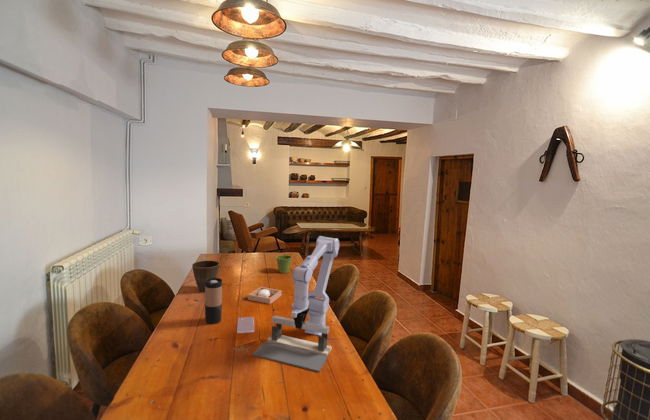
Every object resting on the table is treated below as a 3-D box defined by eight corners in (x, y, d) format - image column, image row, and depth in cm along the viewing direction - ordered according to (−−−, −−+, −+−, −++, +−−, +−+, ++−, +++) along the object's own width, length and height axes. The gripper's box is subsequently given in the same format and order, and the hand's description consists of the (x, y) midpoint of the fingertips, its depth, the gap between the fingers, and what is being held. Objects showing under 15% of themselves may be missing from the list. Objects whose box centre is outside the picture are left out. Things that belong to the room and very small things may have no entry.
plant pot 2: (283, 268, 243) (283, 253, 242) (295, 272, 236) (295, 257, 235) (271, 272, 233) (272, 256, 232) (283, 275, 226) (284, 260, 225)
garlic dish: (260, 291, 195) (260, 286, 194) (281, 295, 190) (281, 290, 190) (247, 299, 181) (247, 294, 181) (270, 304, 177) (270, 298, 177)
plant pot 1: (197, 296, 182) (197, 269, 180) (188, 288, 193) (188, 262, 191) (222, 291, 192) (223, 265, 190) (212, 284, 203) (213, 259, 201)
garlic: (260, 293, 193) (260, 287, 192) (271, 294, 192) (271, 288, 191) (256, 298, 185) (256, 292, 184) (267, 299, 184) (268, 293, 183)
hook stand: (273, 335, 143) (274, 320, 143) (331, 348, 135) (332, 333, 134) (266, 342, 138) (267, 326, 137) (327, 356, 129) (328, 339, 129)
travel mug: (217, 316, 160) (217, 276, 157) (224, 321, 154) (225, 281, 152) (202, 320, 154) (202, 279, 152) (209, 326, 149) (209, 284, 147)
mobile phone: (236, 331, 144) (237, 317, 158) (236, 334, 144) (237, 318, 158) (254, 330, 146) (253, 316, 160) (254, 332, 146) (253, 318, 160)
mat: (264, 343, 137) (264, 341, 137) (327, 357, 128) (327, 356, 128) (252, 355, 127) (252, 353, 127) (319, 372, 119) (319, 370, 119)
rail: (274, 320, 140) (274, 315, 140) (328, 331, 133) (329, 326, 132) (271, 322, 138) (272, 317, 138) (327, 334, 131) (327, 328, 130)
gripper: (299, 288, 142) (297, 317, 144) (284, 300, 128) (283, 332, 130) (314, 291, 140) (312, 321, 141) (301, 303, 126) (299, 336, 128)
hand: (299, 326), depth 135 cm, fingers closed on rail, 2 cm apart
